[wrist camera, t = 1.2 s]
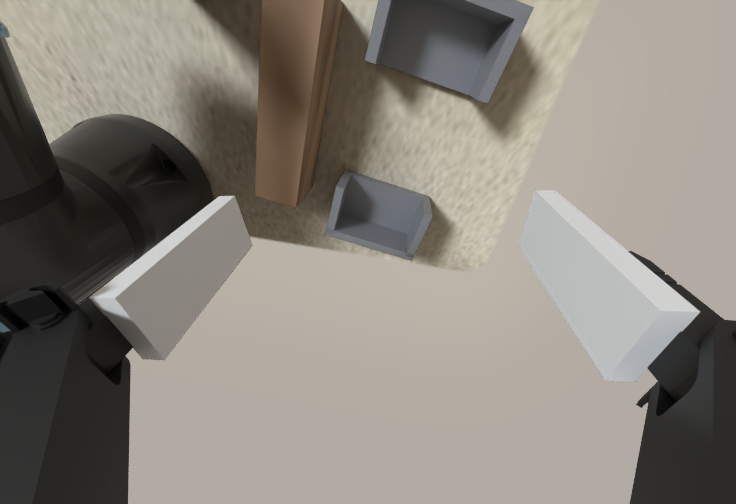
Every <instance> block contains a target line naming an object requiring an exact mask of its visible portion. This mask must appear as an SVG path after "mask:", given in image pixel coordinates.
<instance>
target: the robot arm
mask: <svg viewBox="0 0 736 504" xmlns="http://www.w3.org/2000/svg"><path fill="white" fill-rule="evenodd" d="M5 37H10V34H9V32H8V29H7V27H6V26H5V25H4V24H3V23H2V22H1V21H0V504H128V466H129V465H128V463H129V413H130V411H129V410H130V362H129V360H128V359H127V358H126V356H125V355H126V354H127V353H128V352H129V351H130V350H131V349H132V348H134V350H135V351H136V352H137V353H138V354H139V355H140V356H141V358H142V359H153V360H165V359H166V358H167V356H168V355H169V353H170V352H171V351H172V350H173V348H174V347H175V346H176V344H177V343H178V342H179V341H180V339H181V338H182V337H183V335H184V334H185V333H186V331H187V330H188V329H189V328H190V326H191V325H192V324H193V322H194V321H195V320H196V318H197V317H198V316H199V314H200V313H201V312H202V311H203V309H204V308H205V307H206V305H207V304H208V303H209V302H210V300H211V299H212V298H213V296H214V295H215V293H216V292H217V291H218V290H219V288H220V287H221V286H222V285H223V283H224V282H225V281H226V279H227V278H228V277H229V275H230V274H231V273H232V272H233V270H234V269H235V267H236V266H237V265H238V264H239V262H240V261H241V260H242V259H243V257H244V256H245V255H246V253H247V252H248V251H249V249H250V248H251V246H252V243H251V240H250V237H249V234H248V232H247V229H246V226H245V223H244V220H243V217H242V215H241V212H240V209H239V206H238V203H237V200H236V198H235V196H219V197H217V198H216V199H215V200H214V201H213V198H212V193H211V189H210V186H209V183H208V181H207V179H206V177H205V175H204V173H203V171H202V169H201V168H200V166H199V165H198V163H197V162H196V160H195V159H194V158H193V156H192V155H191V154H190V153H189V152H188V151H187V150H186V149H185V148H184V147H183V146H182V145H181V144H180V143H179V142H178V141H177V140H176V139H175V138H173V137H172V136H171V135H170V134H168V133H167V132H165V131H164V130H162V129H161V128H159V127H157V126H156V125H154V124H152V123H150V122H147V121H145V120H143V119H140V118H137V117H133V116H129V115H122V114H112V115H106V116H100V117H95V118H90V119H87V120H84V121H82V122H80V123H78V124H76V125H75V126H74V127H73V128H72V129H71V130H70V131H68V132H67V133H65V134H64V135H62V136H61V137H59V138H58V139H56V140H55V141H53V142H52V143H50V144H49V143H48V141H47V138H46V136H45V133H44V131H43V129H42V126H41V124H40V121H39V119H38V116H37V114H36V112H35V109H34V107H33V104H32V102H31V99H30V97H29V95H28V92H27V90H26V87H25V85H24V82H23V80H22V78H21V75H20V73H19V70H18V68H17V65H16V63H15V61H14V58H13V56H12V53H11V51H10V48H9V46H8V44H7V41H6V39H5ZM518 247H519V248H520V250H521V252H522V253H523V255H524V256H525V257H526V259H527V261H528V262H529V264H530V265H531V267H532V268H533V270H534V272H535V273H536V275H537V276H538V278H539V279H540V281H541V282H542V284H543V286H544V287H545V289H546V290H547V292H548V293H549V295H550V296H551V298H552V299H553V301H554V302H555V304H556V305H557V307H558V309H559V310H560V312H561V313H562V315H563V316H564V318H565V320H566V321H567V322H568V324H569V325H570V327H571V329H572V330H573V332H574V333H575V335H576V336H577V338H578V340H579V341H580V343H581V344H582V346H583V347H584V349H585V350H586V352H587V353H588V355H589V356H590V358H591V360H592V361H593V363H594V364H595V366H596V367H597V369H598V370H599V372H600V373H601V375H602V377H603V378H604V380H605V381H620V382H636V381H637V380H638V379H639V378H640V377H641V376H642V375H643V374H644V373H645V371H646V370H647V369H649V370H650V372H651V373H652V374H653V375H654V376H655V378H656V379H657V380H658V382H657V383H656V384H655V385H654V386H653V387H652V388H651V389H650V390H649V391H648V392H647V393H646V394H645V395H644V396H643V397H642V398H641V399H640V400H639V401H638V403H637V404H636V405H638V406H639V407H643V405H644V404H646V403H648V409H647V414H646V420H645V425H644V430H643V436H642V441H641V446H640V452H639V457H638V463H637V468H636V473H635V479H634V484H633V489H632V495H631V500H630V504H736V321H731V320H724V319H723V318H721V317H720V316H719V315H718V314H716V313H715V312H714V311H713V310H711V309H710V308H709V307H708V306H706V305H705V304H704V303H703V302H701V301H700V300H699V299H697V298H696V297H695V296H693V295H692V294H691V293H690V292H689V291H687V290H686V289H685V288H684V287H682V286H681V285H677V282H676V281H675V280H674V279H672V278H671V277H670V276H669V275H665V272H664V271H662V270H661V269H659V267H657V266H656V265H655V264H654V263H652V262H651V261H649V260H647V259H646V258H644V257H642V256H640V255H638V254H636V253H634V252H632V251H627V250H626V249H625V248H623V247H622V246H621V245H620V244H619V243H617V242H616V241H615V240H614V239H613V238H611V237H610V236H609V235H608V234H607V233H605V232H604V231H603V230H602V229H600V228H599V227H598V226H597V225H596V224H595V223H593V222H592V221H591V220H590V219H589V218H587V217H586V216H585V215H584V214H582V213H581V212H580V211H579V210H578V209H577V208H575V207H574V206H573V205H572V204H571V203H569V202H568V201H567V200H566V199H565V198H563V197H562V196H561V195H560V194H559V193H557V192H556V191H554V190H552V191H535V193H534V196H533V200H532V203H531V206H530V209H529V212H528V216H527V219H526V222H525V225H524V228H523V232H522V235H521V238H520V241H519V244H518ZM93 293H94V294H93ZM89 296H90V297H89ZM84 300H85V301H84ZM80 303H81V304H80Z"/></svg>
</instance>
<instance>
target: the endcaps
mask: <svg viewBox="0 0 736 504" xmlns="http://www.w3.org/2000/svg"><path fill="white" fill-rule="evenodd" d="M533 8H534V7H531V6H529V5H526V4H524V3H521V2H518V1H516V0H378V4H377V9H376V13H375V17H374V22H373V26H372V31H371V35H370V39H369V44H368V48H367V52H366V57H365V61H368V62H371V63H373V64H382V65H385V66H387V67H390V68H393V69H396V70H399V71H402V72H404V73H407V74H410V75H413V76H416V77H419V78H422V79H424V80H427V81H430V82H433V83H436V84H439V85H441V86H444V87H447V88H450V89H453V90H456V91H458V92H461V93H464V94H467V95H469V96H471V97H473V98H475V99H476V100H479V101H482V102H484V103H487V104H488V101H489V99H490V97H491V95H492V93H493V91H494V89H495V87H496V85H497V83H498V81H499V79H500V77H501V75H502V73H503V70H504V68H505V66H506V64H507V62H508V60H509V58H510V56H511V54H512V52H513V50H514V48H515V46H516V44H517V41H518V39H519V37H520V35H521V33H522V31H523V29H524V27H525V25H526V23H527V21H528V19H529V17H530V15H531V13H532V10H533ZM432 217H433V215H432V209H431V204H430V198H429V196H426V195H423V194H420V193H417V192H414V191H410V190H407V189H404V188H401V187H398V186H395V185H392V184H389V183H386V182H382V181H379V180H376V179H373V178H370V177H367V176H364V175H361V174H358V173H354V172H351V171H348V170H345V171H344V173H343V175H342V176H341V178H340V180H339V182H338V184H337V185H336V189H335V193H334V197H333V202H332V206H331V211H330V215H329V219H328V224H327V228H326V233H325V235H328V236H331V237H334V238H338V239H341V240H344V241H348V242H351V243H354V244H357V245H361V246H364V247H367V248H371V249H374V250H377V251H381V252H384V253H387V254H390V255H394V256H397V257H400V258H404V259H407V260H410V261H412V259H413V257H414V254H415V252H416V250H417V248H418V246H419V244H420V242H421V240H422V238H423V236H424V234H425V232H426V230H427V228H428V225H429V223H430V221H431V219H432Z"/></svg>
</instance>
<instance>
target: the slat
mask: <svg viewBox="0 0 736 504" xmlns="http://www.w3.org/2000/svg"><path fill="white" fill-rule="evenodd" d="M342 8H343V2H342V1H341V0H262V10H261V37H260V64H259V91H258V118H257V146H256V173H255V196H257V197H260V198H263V199H267V200H270V201H273V202H277V203H280V204H283V205H286V206H290V207H293V208H296V207H297V206H298V205H299V203H300V202H301V201H302V199H303V198H304V197H305V195H306V194H307V193H308V191H309V190H310V189H311V187H312V186H313V180H314V174H315V168H316V162H317V157H318V151H319V145H320V139H321V133H322V127H323V121H324V115H325V109H326V103H327V97H328V91H329V85H330V79H331V73H332V67H333V62H334V56H335V50H336V44H337V38H338V32H339V26H340V20H341V14H342Z"/></svg>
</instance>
